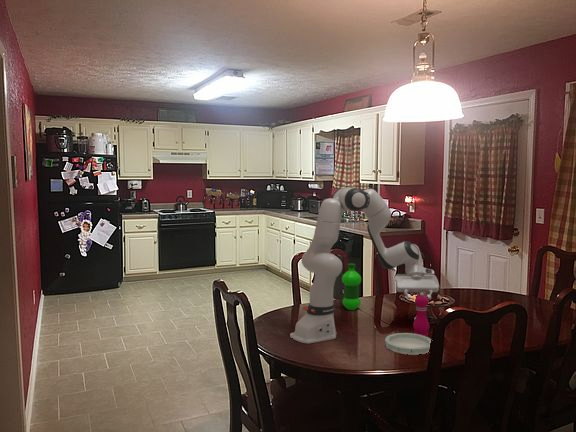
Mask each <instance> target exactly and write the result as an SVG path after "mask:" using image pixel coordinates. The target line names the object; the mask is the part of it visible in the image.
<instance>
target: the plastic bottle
mask: <svg viewBox="0 0 576 432" xmlns="http://www.w3.org/2000/svg"><path fill="white" fill-rule="evenodd" d="M347 268H348V270H347V271H346V272H344V273H343V274H342V276H341V283H342V284H344V285H343V286H344V287H343V288H344V289H343V298H342V305H343V307H345V309H347V310H348V311H349V310H350V311H355V310H356V309H357V308H359V307H360V305H361V299H360V297H359V296H360V295H359V294H360V293H359V292H360V291H359V290H360V288H359V287H360V284H361V282H362V277H361V275H360V274H359V272H357V271H356V270H355V269H356V264H355V263H348V264H347Z"/></svg>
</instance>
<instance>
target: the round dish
mask: <svg viewBox="0 0 576 432" xmlns="http://www.w3.org/2000/svg"><path fill="white" fill-rule="evenodd" d="M431 340H432V339H431V338H430V337H429V336H427V337H426V336H423V335H418V334H414V333H412V332H396V333H391V334H389V335H387V336H386V337H385V339H384V345H385V348H387V349H388V350H389V351H391V352H394V353H397V354H401V355H406V356H407V354H408V356H418V355H419V354H422V355H427V354H429V353H430V352H429V349H430V343H431ZM428 352H429V353H428ZM426 353H427V354H426ZM419 356H420V355H419Z"/></svg>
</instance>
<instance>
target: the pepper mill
mask: <svg viewBox="0 0 576 432" xmlns="http://www.w3.org/2000/svg"><path fill="white" fill-rule="evenodd" d="M414 303H415V305H416V306H415V310H416V316H415V318H414V321H413V323H412V324H413V325H412V326H413V329H414V331H413V334H418V335H423V336H426V337H429V331H428V330H429V329H430V323H429V320H428V316H427V311H428V304H429V300H428V299H427V296H425V294H424V292H419V295H418V296H416V297H415V299H414Z"/></svg>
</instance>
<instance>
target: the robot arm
mask: <svg viewBox="0 0 576 432" xmlns="http://www.w3.org/2000/svg"><path fill="white" fill-rule="evenodd" d="M320 204H321V205H320V207H319V210H318V214H317V217H316V225H315V228H314V233H313V238H312V240H311V242H310V245H309V246H308V248H307V250H306V251H305V252H303V254H302V256H301V265H302V266H303V267H304V269H305V270H307V271H308V272H309V273H313V274H314V279H313V282H312V284H311V285H310V287H309V303H308V305H307V306H306V305H303V306H302V310H303V311H306V313H305V314H304V315H303V316H301V318H299V320H298V321H297V322H296V323H295V326H294V327H295V329H294V332H290V333H289V337H290V338H291V339H292V338H293V339H292V340H294V341H297V342H299V343H303V344H309V345H310V344H312V343H313V344H314V343H319V342H326V341H330V340H335V339H336V338H337V334H338V333H337V330H336V324H335V318H334V317H335V316H334V315H335V314H334V312H335V304H334V288H335V284H336V280H337V277H338V276H340V274H341V273H342V271H343V262H342V260H341V259H340V258H339V257H338V256H336V255H335V254H334V253H330V252H331V249H332V247H333V246H334V245H335V244H336V242H338V240H339V235H340V228H341V222H342V217H343V215H344V213H345V212H359V211H363V214H364V215H365V216H366V218H367V221H368V224H367V227H366V228H367V232H368V235H369V237H370V238H369V239H370V240H371V243H372V244H373V247H374V250H375V251H376V253H377V256H378V260H379V263H380V265H381V266H382V267H383V268H385V269H387V270H393V269H394V268H396V267H398V266H401V265H403V264H404V265H405V267H404V268H405V269H404V270H405V271H404V272H405V273H397V274H395V275H394V277H393V278H394V281H395V290H396V292H398V293H403V295H404V296H406V299H407V300H411V299H412V297H411V294H409V293H428V294H427V295H426V297H427V299H428V301H429V300H430V301H431V300H432V295H433V293H438V292H439V290H440V283H439V279H438V278H437V276H436V275H435V271H434V270H433V269H430V268H426V267H424V265H423V257H422V253H421V250H420V248H419V246H418V245H417V244H415V243H412V242H411V241H407V240H406V241H402V242H399V243H398V244H396V245H395V244H394V245H393V246H391V247H388V248H387V247H386V246H385V244H384V242H383V240H382V237H381V234H380V233H381V232H382V231H383V230H384V229H385V228H386V227H387V226H388V224H389V222H390V221H391V218H392V212H391V209H390V207H389V206H388V205H387V203H386V201H385V200H384V199H383V197H382V196H381V195H380V194H379V193H378V192H377V191H376V190H375V189H373V188H366V189H364V190H363V189H361V188H357V187H351V186H349V187H347V186H346V187H340V188H338V189H337V190H335V192H334V193H333V194H332V196H331V197H330V198H325V199H324V200H323V201H322V202H321V203H320Z"/></svg>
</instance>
